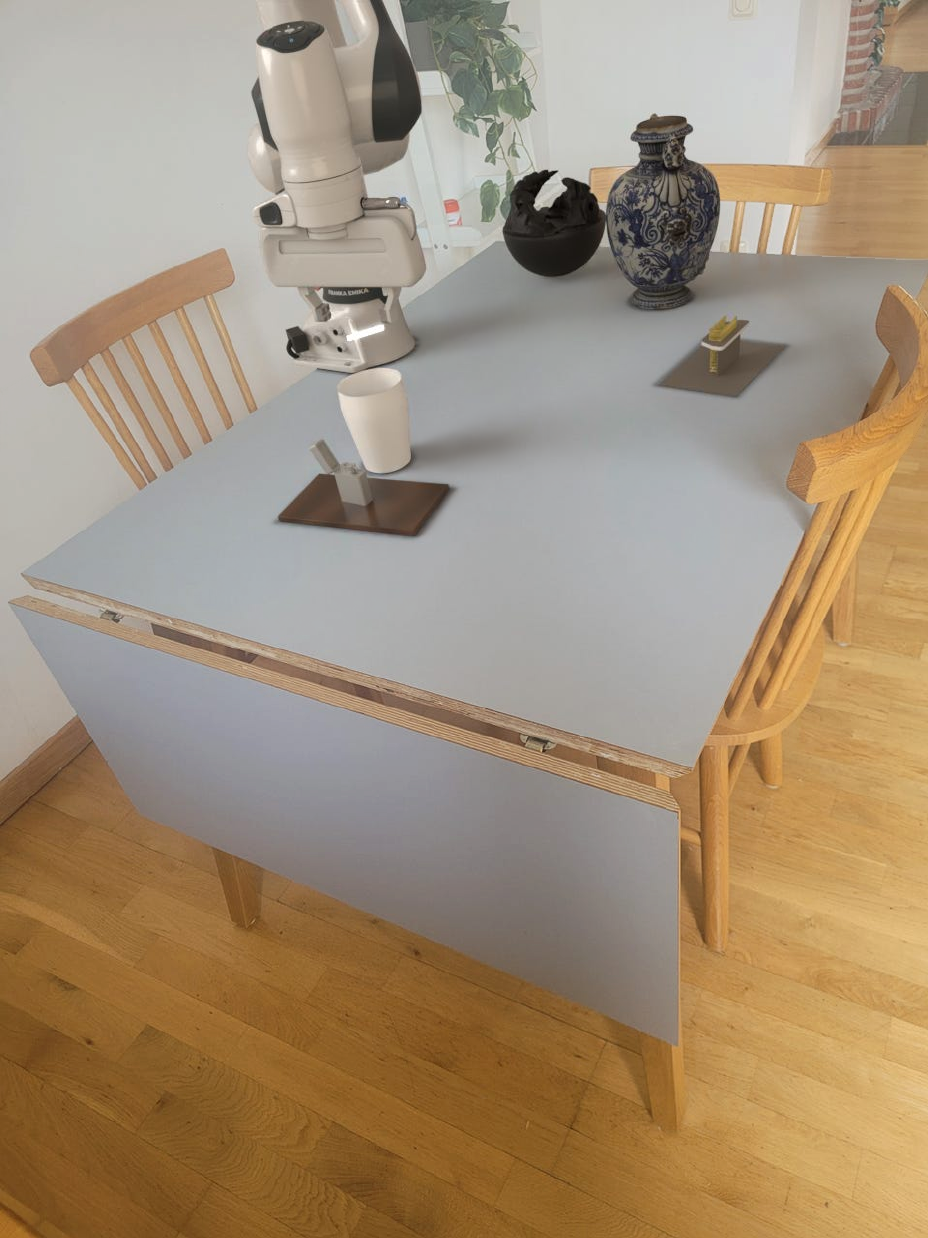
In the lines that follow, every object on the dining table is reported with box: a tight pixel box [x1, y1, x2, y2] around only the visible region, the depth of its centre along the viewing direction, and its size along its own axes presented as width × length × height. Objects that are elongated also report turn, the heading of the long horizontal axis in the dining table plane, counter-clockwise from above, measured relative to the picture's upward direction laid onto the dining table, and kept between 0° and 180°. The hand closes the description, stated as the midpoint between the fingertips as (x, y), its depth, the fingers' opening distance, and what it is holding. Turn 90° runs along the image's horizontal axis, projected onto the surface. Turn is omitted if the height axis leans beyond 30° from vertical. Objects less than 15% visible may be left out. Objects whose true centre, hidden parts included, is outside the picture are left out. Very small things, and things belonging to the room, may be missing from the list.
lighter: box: [309, 438, 373, 506], centre depth 109 cm, size 7×2×8 cm, turn 59°
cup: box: [336, 367, 412, 474], centre depth 116 cm, size 9×9×12 cm
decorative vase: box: [605, 112, 721, 311], centre depth 142 cm, size 21×19×28 cm
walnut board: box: [277, 473, 450, 537], centre depth 111 cm, size 20×11×1 cm, turn 67°
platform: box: [658, 315, 785, 397], centre depth 125 cm, size 12×18×7 cm, turn 143°
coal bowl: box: [501, 169, 606, 278], centre depth 164 cm, size 20×20×19 cm
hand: (356, 320), depth 104 cm, fingers open, 8 cm apart
